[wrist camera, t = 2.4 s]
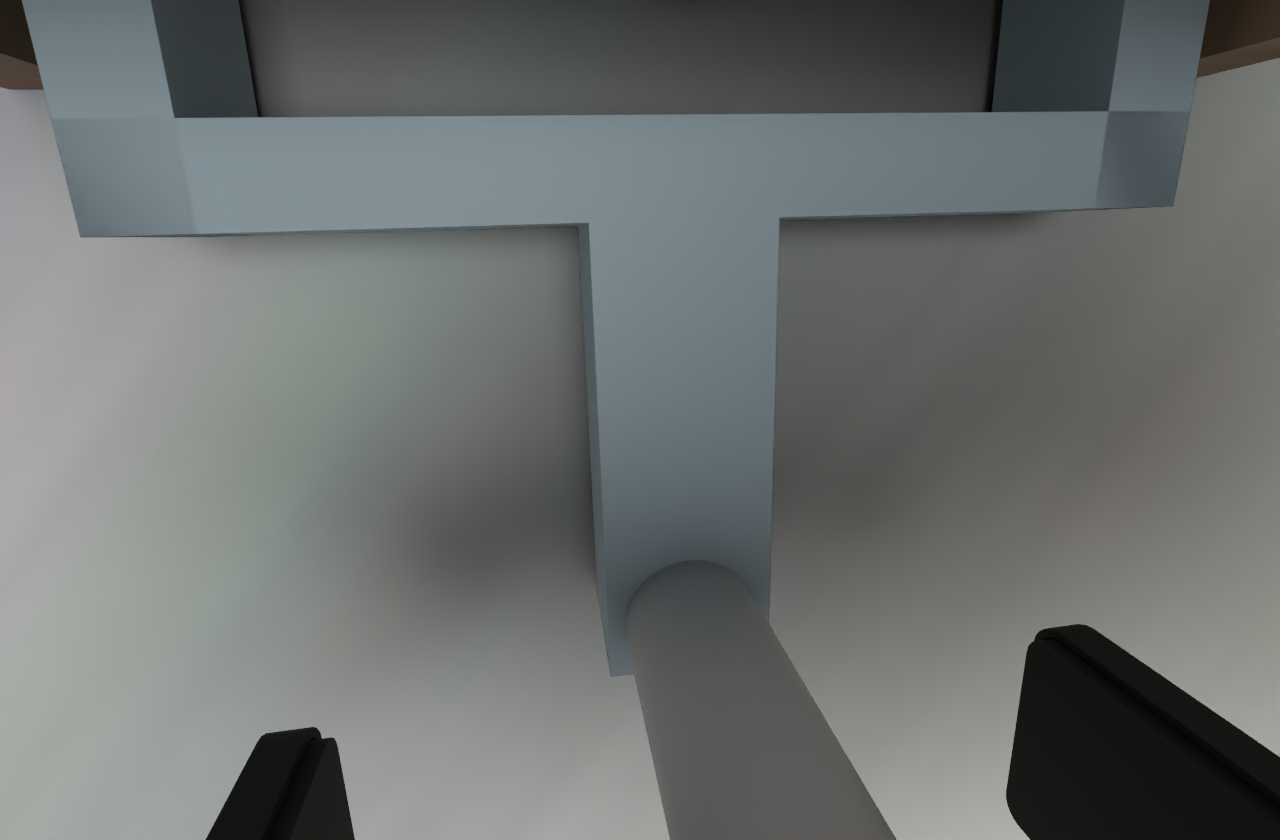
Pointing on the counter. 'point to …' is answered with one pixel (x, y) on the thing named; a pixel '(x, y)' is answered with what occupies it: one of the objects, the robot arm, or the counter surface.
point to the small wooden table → (1234, 37)
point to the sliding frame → (642, 297)
